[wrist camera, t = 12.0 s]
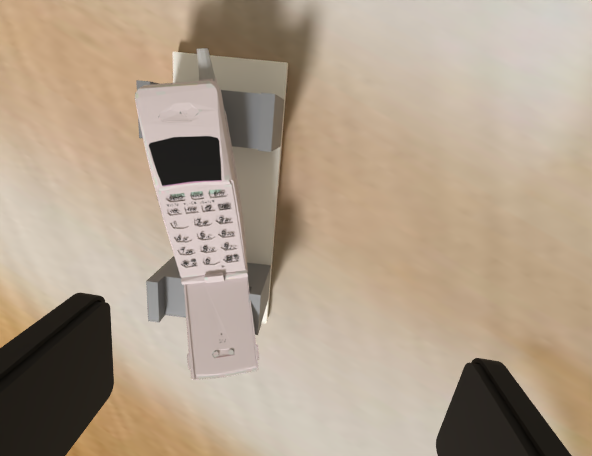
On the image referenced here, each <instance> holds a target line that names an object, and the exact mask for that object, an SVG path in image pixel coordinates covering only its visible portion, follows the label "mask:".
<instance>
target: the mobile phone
mask: <svg viewBox="0 0 592 456" xmlns="http://www.w3.org/2000/svg"><path fill="white" fill-rule="evenodd" d="M197 58H198V68H199V81H193V82H179V83H165V84H151V85H144V86H142V87H140V88H139V89H138V90H137V92H136V93H135V102H136V107H137V112H138V117H139V122H140V127H141V131H142V136H143V141H144V145H145V150H146V154H147V159H148V163H149V167H150V171H151V175H152V179H153V183H154V187H155V190H156V194H157V198H158V202H159V205H160V209H161V213H162V216H163V220H164V223H165V227H166V230H167V233H168V237H169V240H170V243H171V247H172V250H173V253H174V257H175V260H176V263H177V266H178V270H179V273H180V276H181V283H182V285H184V294H185V307H186V321H187V334H188V347H189V353H188V354H187V360H188V368H189V370H190V369H191V379H193V380H196V379H210V378H220V377H227V376H234V375H238V374H243V373H248V372H252V371H257V370H258V360H259V352H258V345H257V344H256V338H255V331H254V323H253V315H252V308H251V300H250V303H249V293H250V292H249V285H248V274H247V272H248V266H247V258H246V240H245V231H244V222H243V215H242V207H241V200H240V193H239V186H238V179H237V172H236V167H235V161H234V155H233V150H232V144H231V139H230V133H229V127H228V121H227V115H226V112H225V110H224V105H223V99H222V93H221V90H220V88H219V86H218V85H217V79H216V78H215V74H214V71H213V67H212V62H211V58H210V54H209V50H208V48H202V49H197Z"/></svg>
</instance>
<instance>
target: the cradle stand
mask: <svg viewBox="0 0 592 456" xmlns="http://www.w3.org/2000/svg"><path fill="white" fill-rule="evenodd" d="M210 58H211V62H212V67H213V71H214V74H215V78H216V79H217V85H218V86H219V88H220V90H221V93H222V99H223V105H224V110H225V112H226V115H227V121H228V127H229V133H230V139H231V144H232V150H233V155H234V161H235V167H236V172H237V179H238V186H239V193H240V200H241V207H242V215H243V222H244V231H245V240H246V258H247V266H248V272H247V274H248V285H249V292H250V293H249V303H250V300H251V308H252V315H253V323H254V331H255V335H258V333H259V329H260V326H261V323H267V319H268V310H269V297H270V285H271V273H272V260H273V248H274V236H275V223H276V211H277V199H278V186H279V174H280V162H281V149H282V137H283V125H284V112H285V100H286V88H287V75H288V63H287V62H277V61H266V60H256V59H245V58H235V57H224V56H214V55H210ZM193 81H199V68H198V58H197V54H193V53H182V52H173V83H179V82H193ZM151 84H158V83H153V82H148V81H138V80H137V90H138V89H139V88H140V87H142V86H144V85H151ZM138 121H139V117H138ZM139 138H143V136H142V131H141V127H140V122H139ZM146 285H147V306H148V321H153V322H160V321H161V319H162V318H163V317H164V316H165V315H169V316H177V317H185V318H186V307H185V294H184V285H182V283H181V276H180V273H179V270H178V266H177V263H176V260H175V257H174V256H173V257H172V258H171V259H170V260H169V261H168V262H167V263H166V264H165V265H164V266H162V267H161V268H160V269H159V270H158V271H157V272H156V273H155V274H154V275H153V276H151V277H150V278H149V279H148V280H147V281H146Z"/></svg>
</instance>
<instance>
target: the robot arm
mask: <svg viewBox="0 0 592 456" xmlns="http://www.w3.org/2000/svg"><path fill="white" fill-rule="evenodd" d="M113 385H114V377H113V357H112V336H111V316H110V305H109V304H108V303H105V300H104V298H103V297H102V296H98V295H92V294H85V293H76V294H75V295H73V296H72V297H70V298H69V299H67V300H66V301H65V302H63V303H62V304H61V305H59V306H58V307H56V308H55V309H54V310H52V311H51V312H50V313H48V314H47V315H45V316H44V317H43V318H41V319H40V320H39V321H37V322H36V323H34V324H33V325H32V326H30V327H29V328H28V329H26V330H25V331H23V332H22V333H21V334H19V335H18V336H17V337H15V338H14V339H12V340H11V341H10V342H8V343H7V344H6V345H4V346H3V347H1V348H0V456H65V455H66V454H67V453H68V451H69V450H70V449H71V447H72V446H73V445H74V443H75V442H76V441H77V439H78V438H79V437H80V435H81V434H82V433H83V431H84V430H85V429H86V427H87V426H88V425H89V423H90V422H91V421H92V419H93V418H94V417H95V415H96V414H97V413H98V411H99V410H100V409H101V407H102V406H103V405H104V403H105V402H106V401H107V399H108V398H109V396H110V394H111V392H112V389H113ZM436 449H437V454H438V456H571V454H570V453H569V452H568V450H567V449H566V448H565V446H564V445H563V444H562V442H561V441H560V440H559V438H558V437H557V436H556V434H555V433H554V432H553V430H552V429H551V427H550V426H549V425H548V423H547V422H546V421H545V419H544V418H543V417H542V415H541V414H540V413H539V411H538V410H537V409H536V407H535V406H534V405H533V403H532V402H531V400H530V399H529V398H528V396H527V395H526V394H525V392H524V391H523V390H522V388H521V387H520V386H519V384H518V383H517V382H516V380H515V379H514V378H513V376H512V375H511V374H510V372H509V371H508V369H507V368H506V367H505V366H504V365H503V364H502V363H501V362H499V361H493V360H487V359H481V358H475V359H474V360H473V361H472V362H471V363H467V364H466V365H465V367H464V369H463V372H462V374H461V377H460V380H459V382H458V385H457V387H456V390H455V392H454V395H453V397H452V400H451V403H450V405H449V408H448V410H447V413H446V415H445V418H444V421H443V423H442V426H441V428H440V431H439V433H438V436H437V439H436Z"/></svg>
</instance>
